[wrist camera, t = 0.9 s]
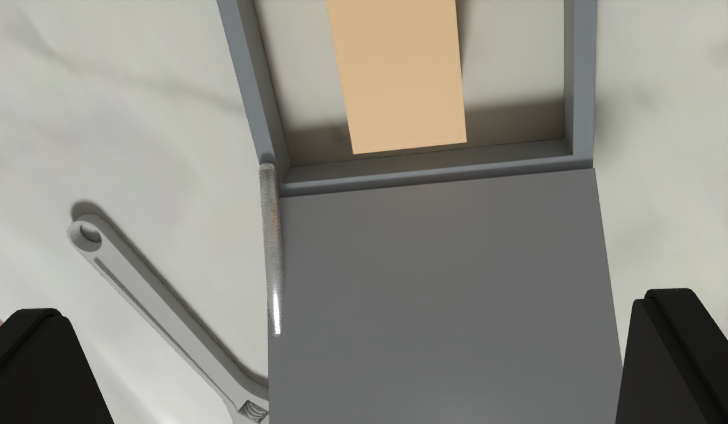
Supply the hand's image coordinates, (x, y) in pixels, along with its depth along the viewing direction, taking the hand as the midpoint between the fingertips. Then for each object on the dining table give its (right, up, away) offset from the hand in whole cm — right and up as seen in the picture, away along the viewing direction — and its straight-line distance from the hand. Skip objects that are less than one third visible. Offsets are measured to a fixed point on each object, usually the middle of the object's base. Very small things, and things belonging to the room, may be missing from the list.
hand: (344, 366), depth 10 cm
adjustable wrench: (-11, -7, +34) cm, 36 cm away
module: (+3, +13, +21) cm, 25 cm away
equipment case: (+3, +8, +23) cm, 25 cm away
